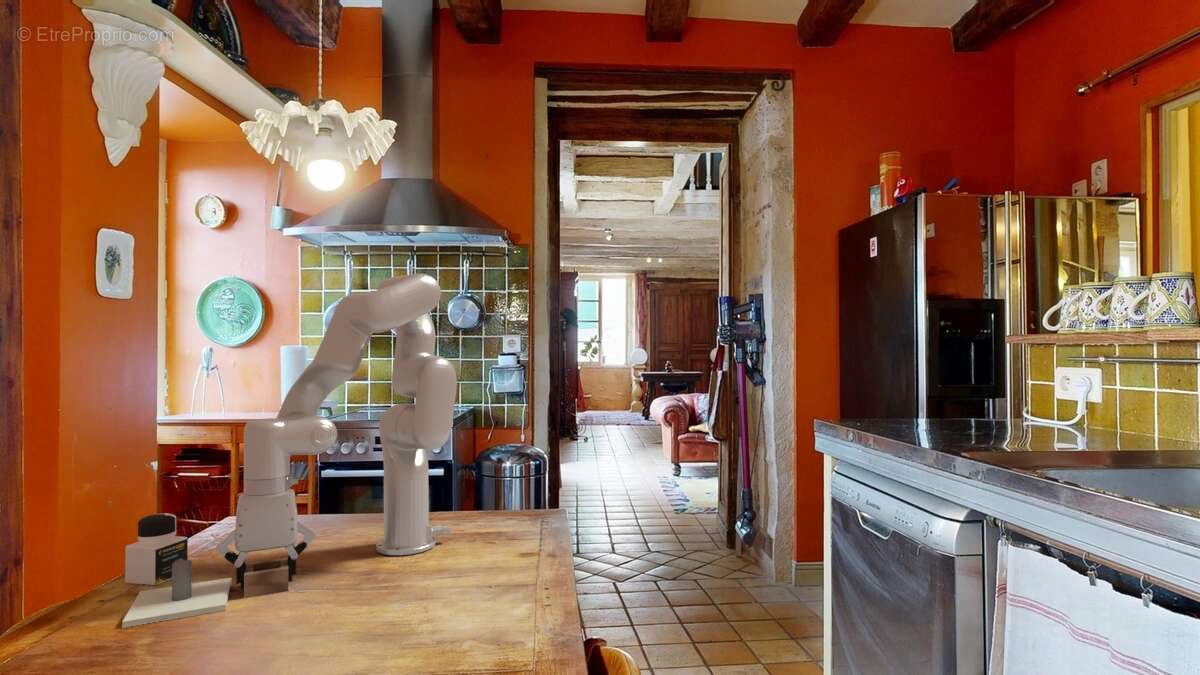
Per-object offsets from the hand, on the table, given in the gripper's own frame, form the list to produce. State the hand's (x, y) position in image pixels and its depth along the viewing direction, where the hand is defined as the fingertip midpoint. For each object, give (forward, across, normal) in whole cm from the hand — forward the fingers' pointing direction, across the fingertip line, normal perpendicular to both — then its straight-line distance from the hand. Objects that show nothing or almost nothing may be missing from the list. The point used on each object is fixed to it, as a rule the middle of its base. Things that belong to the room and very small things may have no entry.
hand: (266, 582), depth 114 cm
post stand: (+1, +13, +1) cm, 13 cm away
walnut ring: (+1, 0, 0) cm, 1 cm away
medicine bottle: (+1, +19, -16) cm, 25 cm away
